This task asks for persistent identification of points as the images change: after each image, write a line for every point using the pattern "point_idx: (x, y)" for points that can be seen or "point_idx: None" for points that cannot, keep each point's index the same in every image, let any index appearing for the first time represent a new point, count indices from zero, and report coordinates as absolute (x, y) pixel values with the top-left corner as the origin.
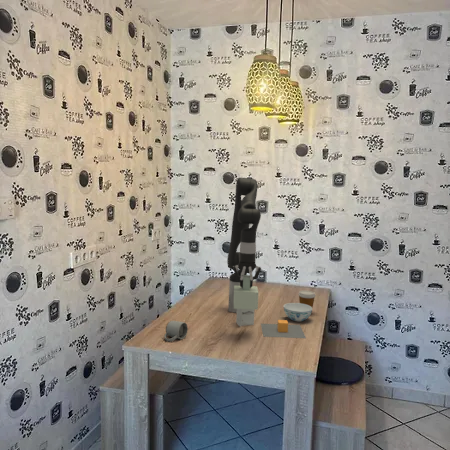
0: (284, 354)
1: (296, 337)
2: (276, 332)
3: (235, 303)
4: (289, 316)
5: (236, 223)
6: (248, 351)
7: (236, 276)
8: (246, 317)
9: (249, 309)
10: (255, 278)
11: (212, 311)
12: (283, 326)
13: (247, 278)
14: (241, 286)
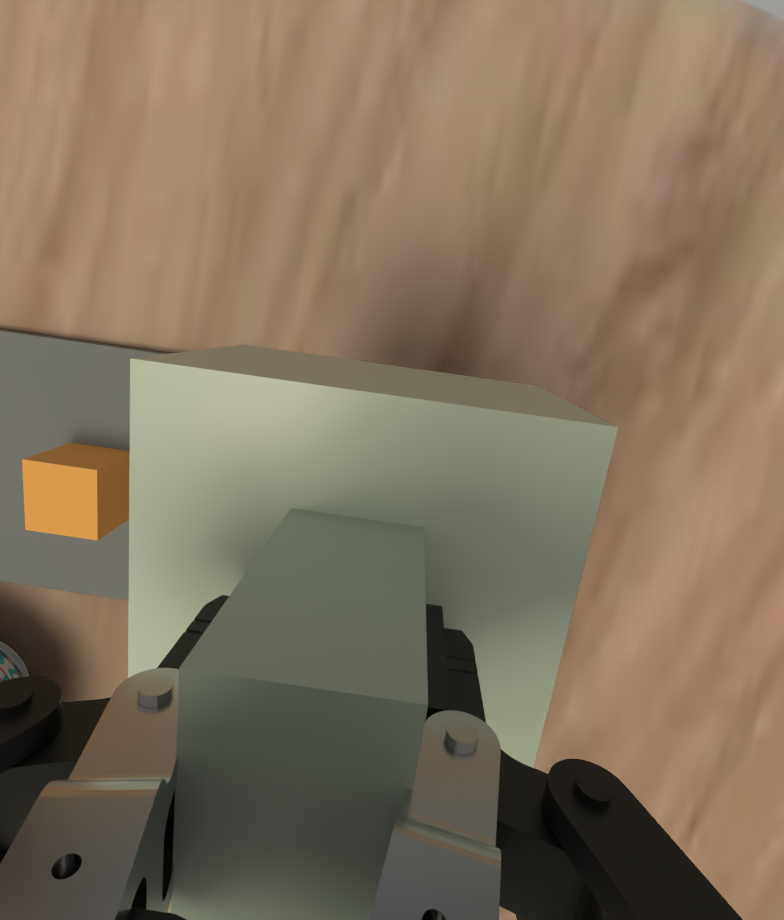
0: (150, 46)
1: (18, 340)
2: None
3: (534, 391)
4: (10, 668)
5: None
6: (411, 113)
7: (649, 830)
8: None
9: None
10: (19, 688)
11: None
12: (75, 458)
13: (284, 666)
14: (442, 615)
